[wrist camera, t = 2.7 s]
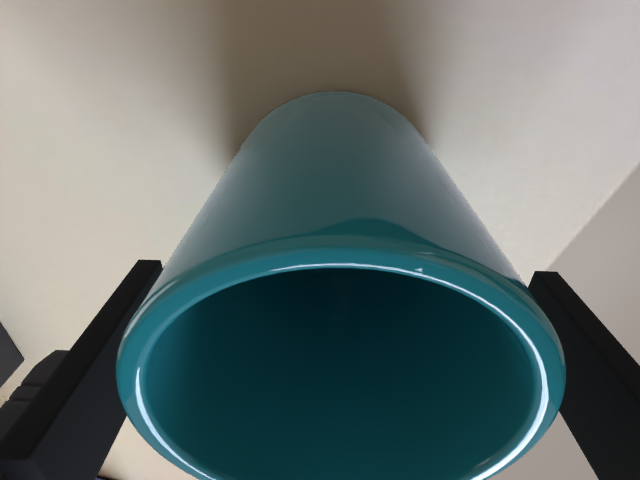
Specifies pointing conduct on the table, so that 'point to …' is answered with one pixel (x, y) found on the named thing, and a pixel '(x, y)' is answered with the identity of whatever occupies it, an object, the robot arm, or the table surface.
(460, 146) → the table surface
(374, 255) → the cup
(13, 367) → the scale
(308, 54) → the table surface
